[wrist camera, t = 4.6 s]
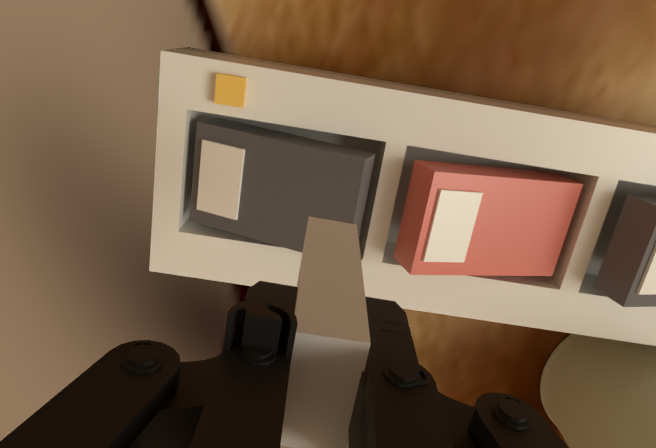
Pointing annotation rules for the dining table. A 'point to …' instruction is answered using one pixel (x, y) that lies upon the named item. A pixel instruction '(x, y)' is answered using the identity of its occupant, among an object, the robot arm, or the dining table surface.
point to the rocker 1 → (274, 182)
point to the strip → (404, 184)
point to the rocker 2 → (631, 255)
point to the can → (601, 392)
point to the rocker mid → (484, 220)
